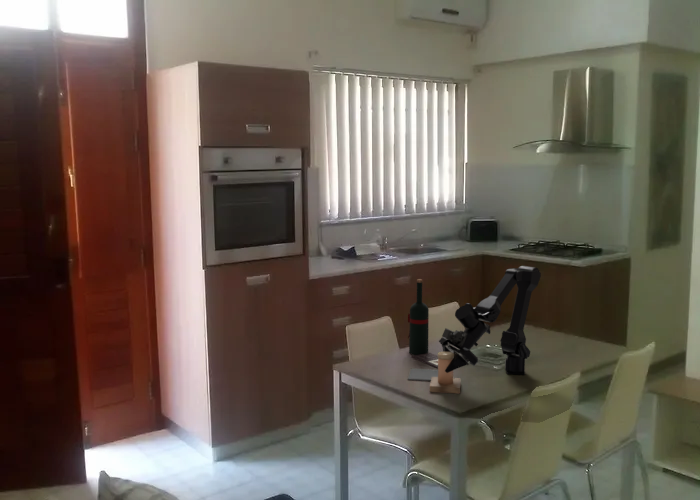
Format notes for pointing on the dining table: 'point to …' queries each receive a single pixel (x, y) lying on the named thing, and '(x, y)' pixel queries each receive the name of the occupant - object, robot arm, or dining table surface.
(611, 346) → the dining table surface
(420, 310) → the wine bottle
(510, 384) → the dining table surface
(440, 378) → the tan cylindrical piece
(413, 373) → the mat
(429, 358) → the chocolate bar
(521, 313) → the robot arm
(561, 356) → the dining table surface
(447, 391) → the plate
